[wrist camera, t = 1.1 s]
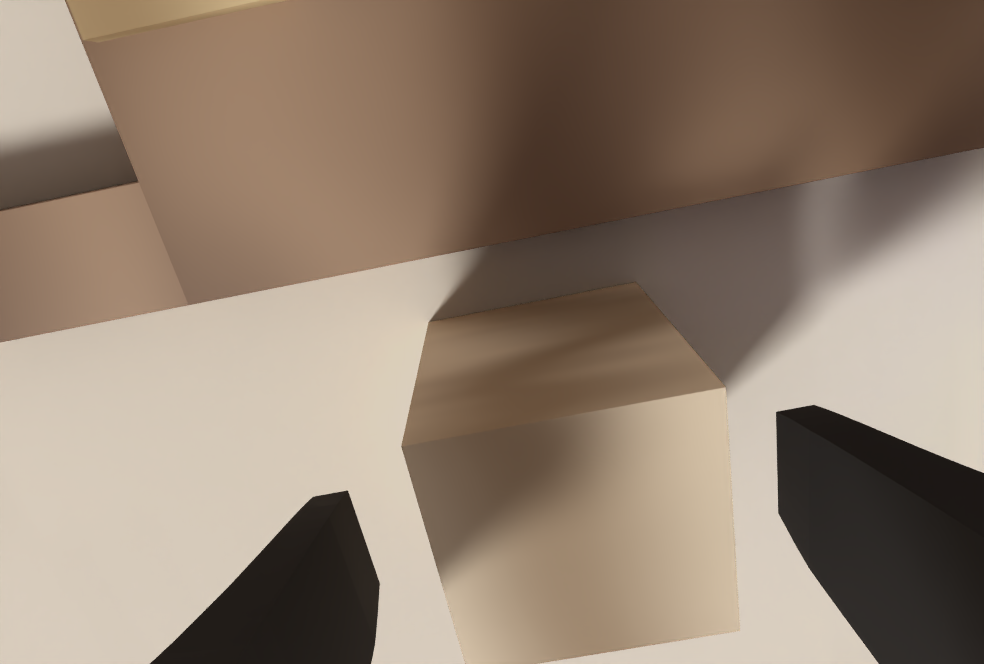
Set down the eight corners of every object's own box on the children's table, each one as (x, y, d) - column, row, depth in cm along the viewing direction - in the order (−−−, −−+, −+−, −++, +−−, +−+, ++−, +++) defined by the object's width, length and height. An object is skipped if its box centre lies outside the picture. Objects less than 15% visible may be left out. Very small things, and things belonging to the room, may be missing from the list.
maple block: (635, 281, 13) (726, 387, 8) (655, 457, 14) (739, 630, 10) (428, 320, 13) (401, 446, 8) (471, 490, 15) (468, 674, 10)
